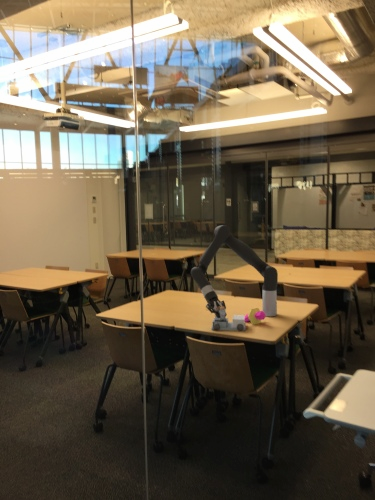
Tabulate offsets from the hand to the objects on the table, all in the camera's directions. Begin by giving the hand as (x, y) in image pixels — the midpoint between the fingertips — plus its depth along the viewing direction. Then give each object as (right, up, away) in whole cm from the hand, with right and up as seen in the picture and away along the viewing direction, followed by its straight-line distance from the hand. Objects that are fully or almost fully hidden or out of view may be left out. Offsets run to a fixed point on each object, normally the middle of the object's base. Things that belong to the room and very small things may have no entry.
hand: (222, 316), depth 247 cm
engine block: (-1, -4, +2) cm, 5 cm away
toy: (+21, -6, +10) cm, 24 cm away
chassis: (+4, -7, +1) cm, 8 cm away
